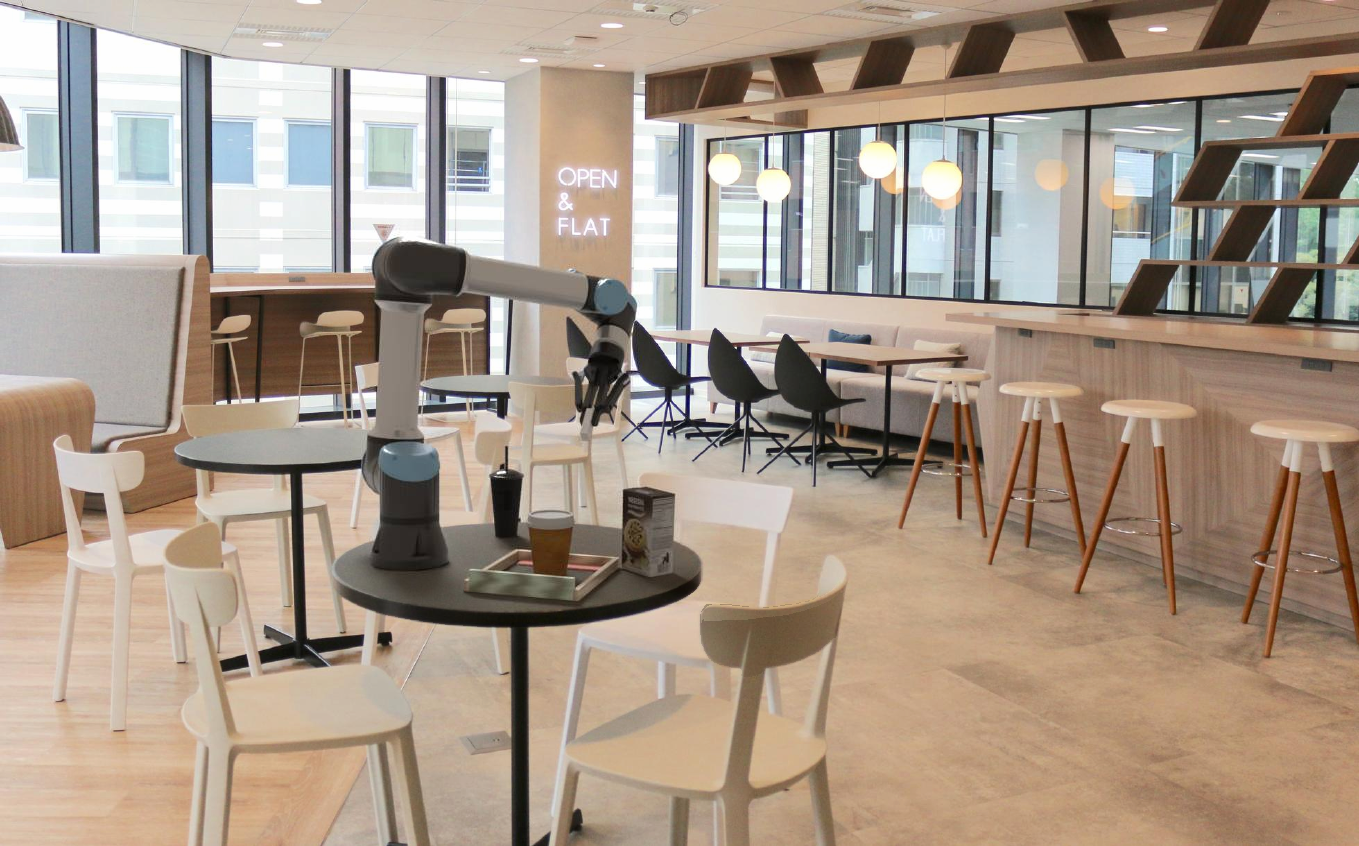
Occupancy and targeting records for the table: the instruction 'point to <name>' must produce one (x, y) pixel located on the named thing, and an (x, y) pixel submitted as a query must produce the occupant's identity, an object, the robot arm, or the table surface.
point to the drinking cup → (506, 499)
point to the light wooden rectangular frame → (538, 578)
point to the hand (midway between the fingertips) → (584, 436)
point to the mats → (570, 565)
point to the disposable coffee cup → (550, 540)
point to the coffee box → (648, 531)
